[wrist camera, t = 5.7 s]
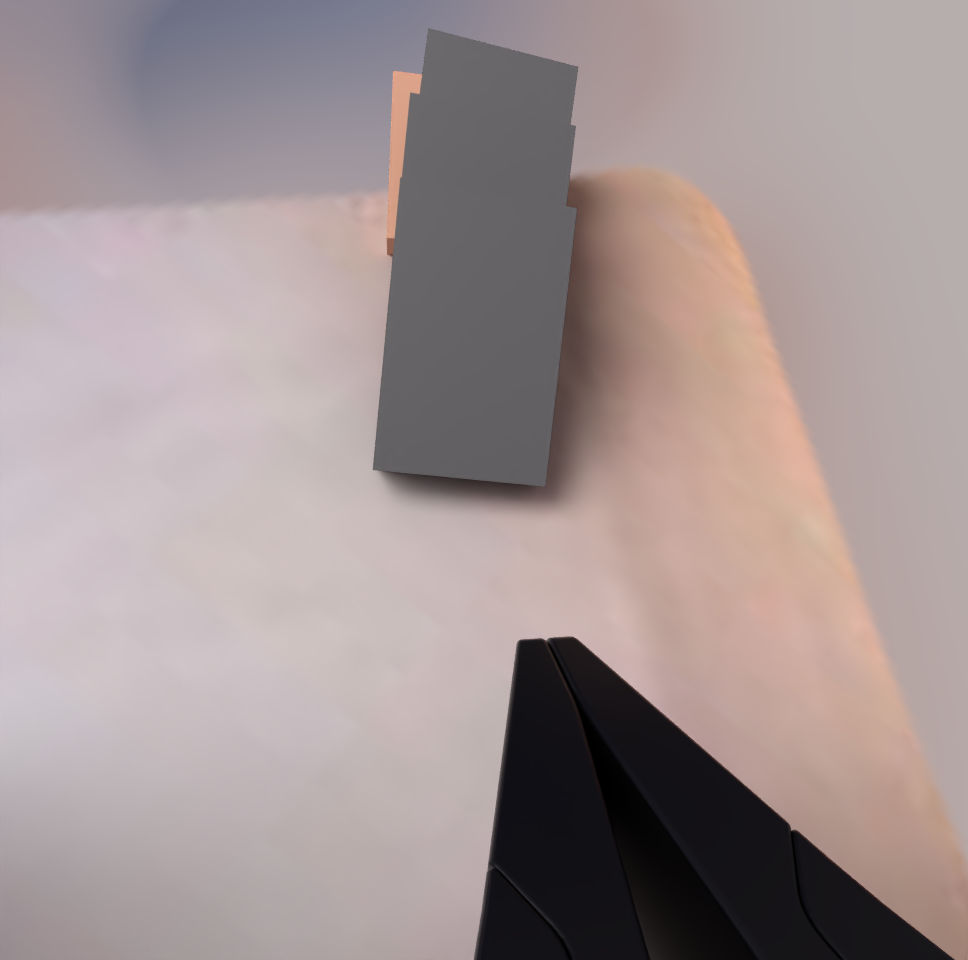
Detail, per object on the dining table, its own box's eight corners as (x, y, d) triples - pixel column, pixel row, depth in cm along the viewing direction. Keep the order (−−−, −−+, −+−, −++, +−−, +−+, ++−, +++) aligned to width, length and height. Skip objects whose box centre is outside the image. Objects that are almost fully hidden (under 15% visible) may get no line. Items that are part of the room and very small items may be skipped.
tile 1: (545, 486, 16) (577, 208, 15) (372, 470, 15) (399, 177, 15) (535, 483, 17) (565, 224, 17) (375, 467, 16) (400, 196, 16)
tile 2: (544, 390, 17) (575, 126, 16) (382, 369, 16) (410, 92, 16) (535, 393, 18) (564, 147, 18) (384, 374, 17) (410, 116, 17)
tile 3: (545, 304, 18) (578, 66, 18) (394, 276, 17) (428, 28, 17) (537, 315, 19) (567, 91, 19) (394, 288, 18) (426, 56, 18)
